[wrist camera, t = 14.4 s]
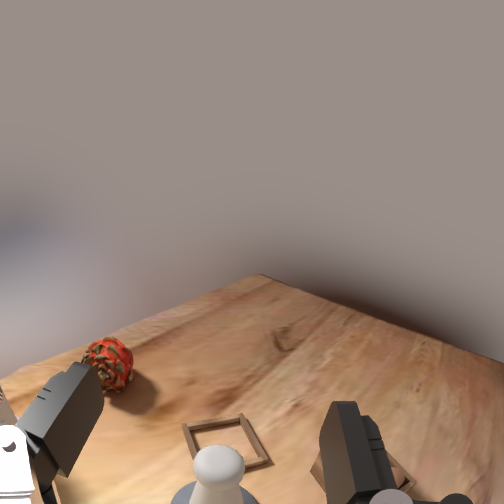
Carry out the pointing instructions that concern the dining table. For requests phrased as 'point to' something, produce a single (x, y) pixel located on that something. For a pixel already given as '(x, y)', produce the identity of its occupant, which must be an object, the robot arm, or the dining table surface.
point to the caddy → (400, 475)
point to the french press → (6, 412)
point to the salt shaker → (218, 476)
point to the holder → (222, 421)
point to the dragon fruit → (110, 363)
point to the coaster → (185, 493)
